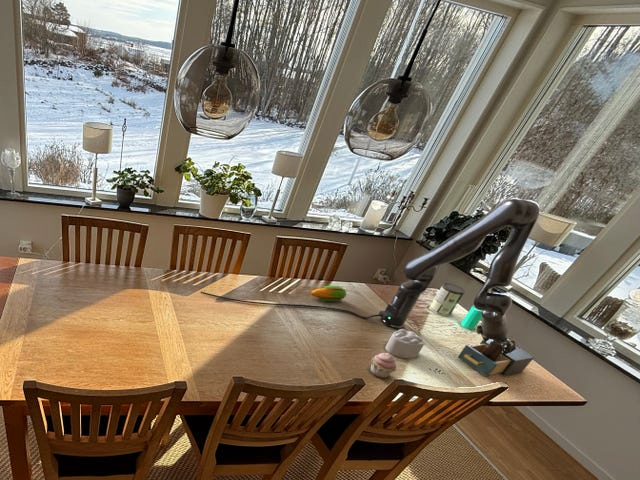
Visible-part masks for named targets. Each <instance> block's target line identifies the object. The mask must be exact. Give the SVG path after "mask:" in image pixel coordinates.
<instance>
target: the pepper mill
mask: <svg viewBox="0 0 640 480" xmlns="http://www.w3.org/2000/svg"><path fill="white" fill-rule="evenodd" d="M507 340H509V341H510V339H509V338H507ZM500 344H502V343H500ZM504 347H506V345H505V346H504ZM502 352H503V348H502V347H499V346H498V345H497V343H496V342H494V341H493V340H492V341H491V342H490V344H489V345H488V346H487V348H486V349H485V350H484V352H483V353H482V354H483V355H484V356H486V357H487V358H489V359H490V360H492V361H493V362H495V361H496V359H497V358H498V357H499V355H500V354H501V353H502Z"/></svg>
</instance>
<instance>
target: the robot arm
mask: <svg viewBox="0 0 640 480" xmlns="http://www.w3.org/2000/svg"><path fill="white" fill-rule="evenodd" d="M539 215H540V205H539V204H538V203H537V202H535V201H533V200H528V199H522V198H508V199H505V200H504V201H502V202H500V203H499V204H497V205H496V206H494V207H493V208H492V209H491V210H489V211H488V212H487V213H486V214H484V215H483V216H481V217H480V218H479V219H477V220H476V221H475V222H473V223H471V224H469V225H468V226H467V227H465V228H464V229H462V230H460V231H459V232H457V233H456V234H454V235H452V236H451V237H449V238H448V239H446V240H445V241H443V242H441V243H440V244H439V245H437V246H435V247H433V248H432V249H430V250H429V251H427V252H425V253H423V254H421V255H419V256H417V257H415V258H413V259H412V260H410V261H408V262H407V263H406V264H405V266H404V268H403V275H404V277H405V278H406V279H407V281H404V282H402V283H400V285H399V286H398V289H397V290H396V292H395V294H394V296H393V298H392V300H391V301H390V302H388V303H387V305H386V308H385V309H383V310H382V309H381V310H379V312H378V314H371V315H369V316H363V315H360V314H358V313H356V312H354V311H351V310H347V309H343V308H336V307H330V306H329V307H328V306H323V305H321V306H320V305H310V304H291V303H276V302H275V303H273V302H260V301H251V300H244V299H243V300H242V299H237V298H231V297H225V296H221V295H216V294H212V293H210V292H209V293H208V292H205V291H200V294H202V293H203V295H206V296H210V297H214V298H219V299H224V300H229V301H234V302H239V303H247V304H258V305H267V306H268V305H269V306H286V307H303V308H305V307H306V308H317V309H325V310H326V309H327V310H334V311H341V312H345V313H350V314H352V315H354V316H356V317H358V318H361V319H365V320H368V319H371V318H374V317H379V318H380V321H382V322H383V324H384V325H385V326H387V327H390V328H393V329H403V328H404V325H405V323H406V321H407V319H408V318H409V316H410V314H411V312H412V310H413V309H414V307H415V305H416V304H417V302H418V301H419V298H420V297H421V295H422V294H423V293H424V292H425V291H426V290H427V289H428V287H429V286H430V284H431V282H432V281H433V280H434V278H435V276H436V273H437V269H438V268H437V267H438V266H441V265H445V264H449V263H452V262H455V261H458V260H460V259H462V258H464V257H466V256H469V255H470V254H472V253H473V252H475V251H476V250H478V249H479V248H480V247H481V245H482V244H483V242H484V240H485V239H486V238H487V236H489V235H490V234H492V233H494V232H495V231H497V230H499V229H501V228H504V227H510V232H509V235H508V238H507V240H506V242H505V243H504V244H503V246H502V247H501V248H500V249H499V250H498V252H497V253H496V254H495V255H494V256H493V258H492V260H491V262H490V265H489V268H488V272H487V276H486V278H485V280H484V284H483V285H482V287H481V288H480V290H479V291H478V293H477V294H476V296H475V298H474V299H473V306H474V307H475V308H476V309H477V310H482V318H481V323H479V324H477V325H476V333H477V334H478V335H480V336H481V337H482V340H483V341H484V342H486V341H488V340H489V339H492V340H493V341H494V342H496V343H497V345H498V346H499V347H502V348H503V354H508V353H511V352H512V351H514V350H515V349H516V347H517V346H516V341H514V340H510V339H509V340H507V339H508V337H507V335H508V332H509V331H508V320H507V312H508V311H509V310H510V308H511V306H512V304H513V299H512V297H511V296H510V295H508V294H506V293H500V292H492V290H493V289H495V288H506V287H509V286H510V285H511V284H512V281H513V277H514V274H515V270H516V266H517V265H518V261H519V258H520V255H521V253H522V251H523V249H524V247H525V245H526V243H527V241H528V239H529V237H530V235H531V233H532V231H533V228H535V225H536V223H537V220H538V218H539ZM500 343H502V344H500ZM505 345H506V347H504V346H505Z"/></svg>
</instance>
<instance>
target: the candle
mask: <svg viewBox="0 0 640 480" xmlns="http://www.w3.org/2000/svg"><path fill="white" fill-rule="evenodd" d="M480 321H482V310H477V309H476V308H475V307H474V305H472V306H471V308H470V309H469V311H467V313H466V315H465V316H464V318H463V320H462V321H461V322H460V326H462V328H464V329H467V330H469V331H470V330H471V331H472V330H475V328H477V326H478V325H479V324H480Z"/></svg>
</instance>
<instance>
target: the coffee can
mask: <svg viewBox="0 0 640 480" xmlns="http://www.w3.org/2000/svg"><path fill="white" fill-rule="evenodd" d="M465 293H466V290H465V289H464V288H462V287H461V286H459V285H456V284H453V283H450V282H449V283H448V282H444V283H442V284H441V287H440V288H439V290H438V292H437V294H436V295H435V297H434V298H433V301H432V302H431V304H430V306H429V307H428V308H429V310H430V311H432V312H434V313H435V314H437V315H440V316H442V317H443V316H444V317H450V316H451V315H452V313H453V311H455V308H456V307H457V305H458V304H459V302H460V301H461V299H462V297H463V295H464V294H465Z"/></svg>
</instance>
